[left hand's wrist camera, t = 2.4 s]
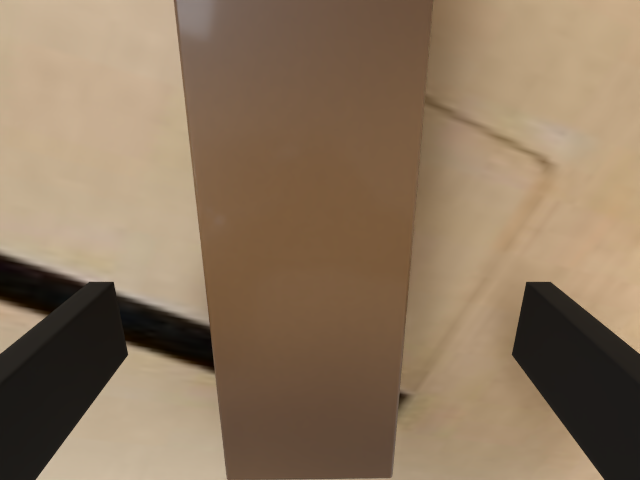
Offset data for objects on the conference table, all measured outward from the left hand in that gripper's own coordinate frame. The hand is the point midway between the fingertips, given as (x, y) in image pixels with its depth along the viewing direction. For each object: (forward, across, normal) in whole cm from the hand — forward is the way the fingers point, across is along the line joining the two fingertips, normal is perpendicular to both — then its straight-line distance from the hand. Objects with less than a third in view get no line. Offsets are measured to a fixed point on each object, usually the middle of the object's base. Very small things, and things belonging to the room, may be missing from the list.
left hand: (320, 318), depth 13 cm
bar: (+5, 0, -9) cm, 10 cm away
